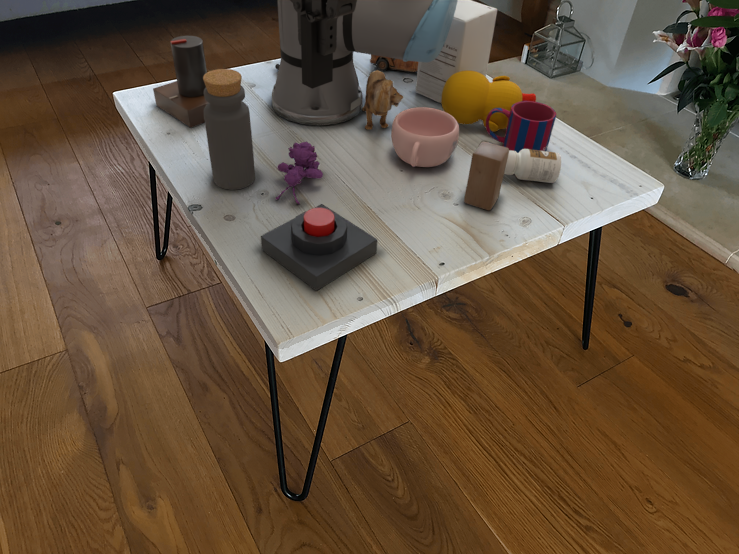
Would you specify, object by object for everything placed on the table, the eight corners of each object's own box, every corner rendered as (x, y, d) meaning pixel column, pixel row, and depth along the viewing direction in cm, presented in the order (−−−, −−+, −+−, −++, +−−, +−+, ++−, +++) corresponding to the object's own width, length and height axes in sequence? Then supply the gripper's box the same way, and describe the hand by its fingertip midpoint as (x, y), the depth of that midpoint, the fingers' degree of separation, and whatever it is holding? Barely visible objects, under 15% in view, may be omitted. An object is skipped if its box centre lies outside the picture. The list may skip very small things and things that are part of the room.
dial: (203, 82, 101) (196, 31, 95) (213, 93, 98) (206, 42, 92) (174, 87, 99) (165, 36, 93) (184, 99, 96) (175, 47, 90)
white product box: (445, 78, 113) (456, -7, 103) (483, 94, 109) (500, 8, 99) (413, 92, 108) (422, 4, 98) (452, 110, 104) (466, 20, 94)
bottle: (220, 194, 82) (206, 89, 72) (208, 172, 86) (192, 70, 76) (261, 184, 85) (252, 82, 75) (247, 163, 88) (237, 63, 78)
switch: (297, 227, 72) (297, 215, 71) (320, 215, 74) (320, 203, 73) (318, 241, 70) (318, 229, 69) (340, 228, 72) (340, 217, 71)
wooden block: (462, 203, 84) (472, 152, 78) (472, 189, 86) (481, 139, 81) (490, 212, 82) (501, 161, 77) (499, 197, 85) (510, 147, 80)
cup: (541, 166, 92) (553, 125, 87) (477, 151, 94) (485, 111, 90) (548, 145, 97) (559, 106, 92) (486, 132, 99) (494, 93, 94)
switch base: (261, 249, 74) (259, 223, 72) (321, 217, 80) (321, 191, 77) (316, 291, 69) (316, 264, 67) (376, 253, 75) (378, 227, 72)
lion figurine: (401, 139, 96) (406, 85, 90) (368, 141, 95) (371, 86, 89) (382, 97, 106) (385, 46, 100) (352, 98, 106) (353, 47, 99)
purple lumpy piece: (331, 142, 84) (311, 163, 77) (329, 184, 88) (310, 207, 81) (286, 133, 85) (263, 153, 79) (286, 175, 89) (264, 198, 82)
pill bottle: (564, 151, 85) (510, 144, 85) (559, 182, 86) (505, 176, 85) (553, 154, 90) (502, 148, 89) (549, 184, 90) (498, 178, 90)
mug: (399, 135, 97) (402, 100, 93) (460, 147, 95) (466, 113, 91) (377, 173, 88) (379, 137, 84) (444, 188, 86) (449, 151, 82)
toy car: (372, 58, 119) (374, 22, 114) (433, 64, 118) (437, 28, 114) (368, 71, 114) (370, 34, 109) (432, 77, 113) (436, 40, 109)
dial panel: (156, 105, 100) (152, 87, 98) (202, 90, 105) (199, 72, 103) (190, 128, 95) (187, 109, 93) (237, 110, 100) (235, 92, 98)
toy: (533, 93, 102) (446, 75, 103) (545, 74, 94) (450, 55, 94) (521, 145, 102) (434, 127, 103) (533, 131, 93) (437, 111, 94)
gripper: (218, -237, 45) (245, 71, 61) (339, -221, 39) (335, 118, 54) (295, -235, 49) (302, 52, 65) (416, -221, 43) (391, 94, 59)
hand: (317, 82), depth 60 cm, fingers closed
